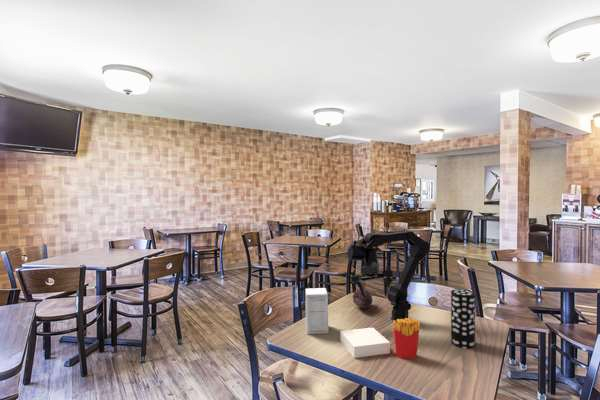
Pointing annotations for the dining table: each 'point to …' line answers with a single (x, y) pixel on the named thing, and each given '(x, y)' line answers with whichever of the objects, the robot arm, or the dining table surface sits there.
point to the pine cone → (362, 299)
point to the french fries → (406, 337)
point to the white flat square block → (364, 342)
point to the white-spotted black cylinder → (463, 318)
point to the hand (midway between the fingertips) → (375, 297)
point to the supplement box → (316, 311)
